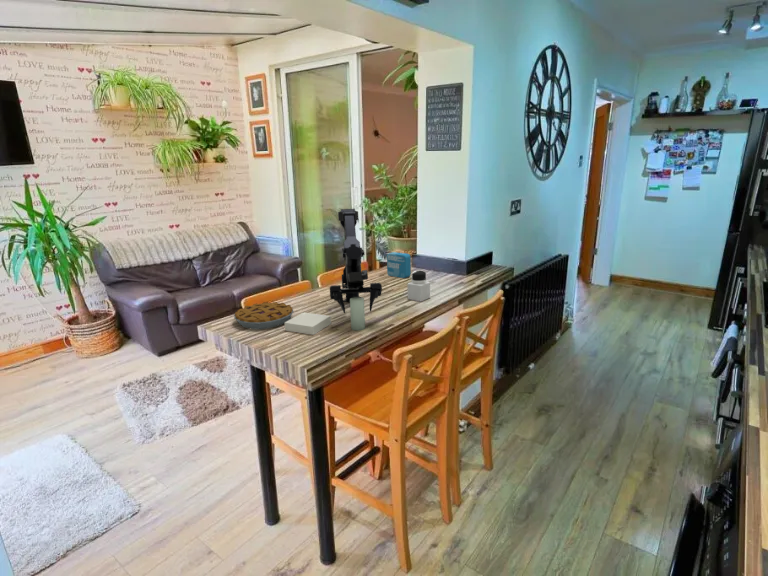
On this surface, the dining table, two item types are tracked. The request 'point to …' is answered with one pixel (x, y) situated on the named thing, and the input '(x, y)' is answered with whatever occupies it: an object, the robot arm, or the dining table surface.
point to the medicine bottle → (418, 287)
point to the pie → (264, 315)
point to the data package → (398, 265)
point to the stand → (307, 323)
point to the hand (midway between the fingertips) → (357, 311)
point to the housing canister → (357, 313)
